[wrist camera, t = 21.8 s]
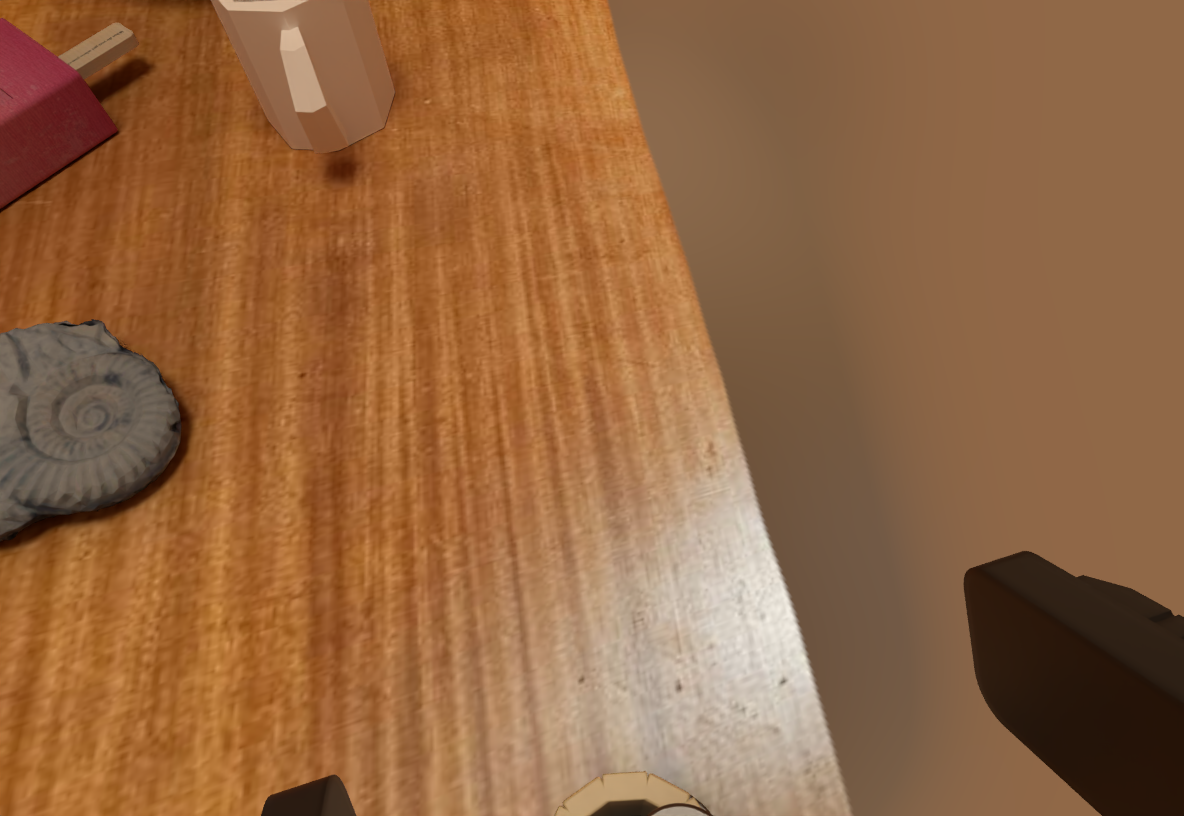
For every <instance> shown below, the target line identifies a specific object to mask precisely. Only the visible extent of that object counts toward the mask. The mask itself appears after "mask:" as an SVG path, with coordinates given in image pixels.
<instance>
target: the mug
mask: <svg viewBox="0 0 1184 816" xmlns="http://www.w3.org/2000/svg"><path fill="white" fill-rule="evenodd" d="M211 2H212V4H213V6H214V8H215V10H216V12H217V15H218V17H219V19H220V21H221V23H222V25H223V27H224V29H225V31H226V33H227V35H228V38H229V40H230V42H231V44H232V46H233V48H234V50H235V52H236V54H237V56H238V59H239V61H240V63H241V65H242V67H243V69H244V71H245V73H246V75H247V77H248V79H249V82H250V84H251V86H252V88H253V90H254V92H255V94H256V96H257V98H258V100H259V102H260V105H261V107H262V109H263V111H264V113H265V115H266V117H267V119H268V121H269V122H270V123H271V125H272V126H273V127H274V128H275V129H276V131H277V132H278V133H279V134H280V135H281V137H282V138H283V139H284V140H285V141H286V142H287V144H288V145H289V146H290V147H291V148H292V149H307V150H314V152H315V154H316V153H326V152H334V151H339V150H341V149H343V148H345V147H348V146H349V145H351V144H353V143H355V142H357V141H359V140H361V139H363V138H364V137H366V136H368V135H370V134H372V133H374V132H376V131H378V130H380V129H382V128H384V127H385V123H386V120H387V117H388V114H389V110H390V107H391V104H392V101H393V98H394V94H395V89H394V86H393V83H392V79H391V76H390V73H389V69H388V66H387V62H386V59H385V56H384V52H383V49H382V46H381V42H380V39H379V36H378V32H377V29H376V26H375V22H374V19H373V15H372V12H371V9H370V5H369V2H368V0H211Z"/></svg>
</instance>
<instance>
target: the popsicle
mask: <svg viewBox="0 0 1184 816" xmlns="http://www.w3.org/2000/svg"><path fill="white" fill-rule="evenodd" d="M138 45H139V42H138V41H137V39H136V37H135V36H134V34H133V32H132V31H130V30H129V29H127V28H126V27H124V26H123V25H121V24H120V23H114V24H112V25H110V26H108V27H107V28H105V29H103V30H102V31H100V32H98V33H97V34H95V35H93V36H92V37H90V38H88V39H87V40H85V41H83V42H82V43H80V44H78V45H77V46H75V47H73V48H72V49H70V50H69V51H67V52H65V53H64V54H62V55H60V56H59V57H57V56H56V55H54V54H53V53H51V52H50V51H49V50H47V49H46V48H44V47H43V46H42V45H40V44H39V43H37V42H36V41H35V40H33V39H32V38H30V37H29V36H28V35H26V34H25V33H23V32H22V31H21V30H19V29H18V28H16V27H15V26H14V25H12V24H11V23H9V22H8V21H7V20H5V19H4V18H1V19H0V209H1V208H3V207H4V206H6V205H7V204H9V203H10V202H12V201H13V200H15V199H16V198H18V197H19V196H21V195H22V194H24V193H25V192H27V191H28V190H30V189H31V188H33V187H34V186H36V185H37V184H39V183H40V182H42V181H43V180H45V179H46V178H48V177H49V176H51V175H52V174H54V173H55V172H57V171H58V170H60V169H61V168H63V167H65V166H66V165H68V164H69V163H71V162H72V161H74V160H75V159H77V158H78V157H80V156H81V155H83V154H84V153H86V152H87V151H89V150H90V149H92V148H93V147H95V146H96V145H98V144H99V143H101V142H102V141H104V140H105V139H107V138H108V137H110V136H111V135H113V134H114V133H116V132H117V131H118V130H117V128H116V126H115V125H114V123H113V122H112V120H111V119H110V117H109V116H108V114H107V113H106V111H105V110H104V108H103V107H102V106H101V104H100V103H99V101H98V100H97V98H96V97H95V95H94V94H93V92H92V91H91V89H90V88H89V87H88V85H87V84H86V82H85V81H84V79H86V78H87V77H89V76H91V75H92V74H94V73H95V72H97V71H99V70H100V69H102V68H103V67H105V66H107V65H108V64H110V63H111V62H113V61H115V60H116V59H118V58H119V57H121V56H123V55H124V54H126V53H127V52H129V51H131V50H132V49H134V48H135V47H137V46H138Z"/></svg>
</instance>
